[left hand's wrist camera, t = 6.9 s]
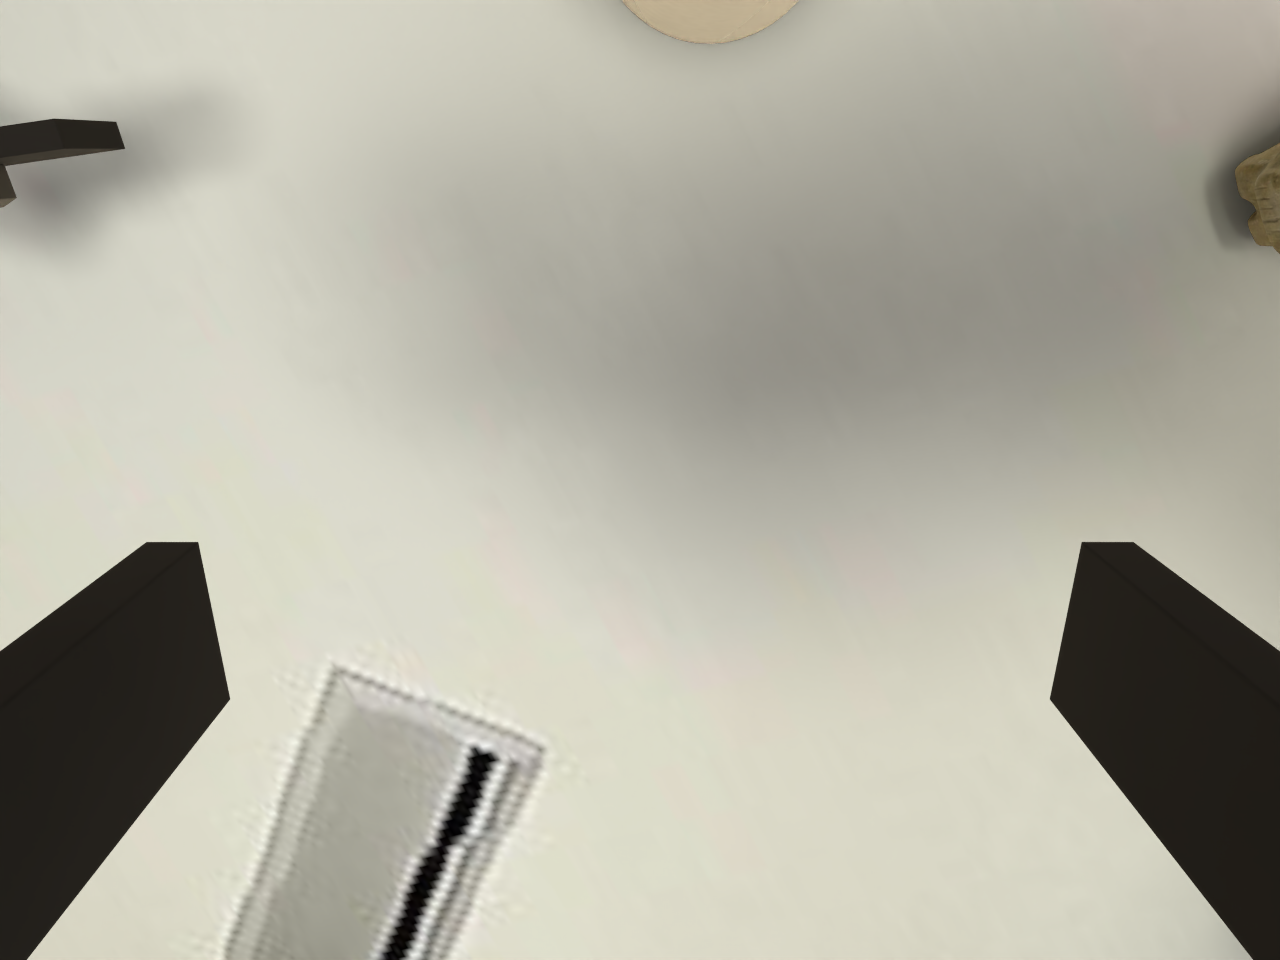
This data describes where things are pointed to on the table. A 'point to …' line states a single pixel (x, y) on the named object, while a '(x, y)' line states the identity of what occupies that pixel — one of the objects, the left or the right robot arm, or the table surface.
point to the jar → (709, 17)
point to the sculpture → (1262, 195)
